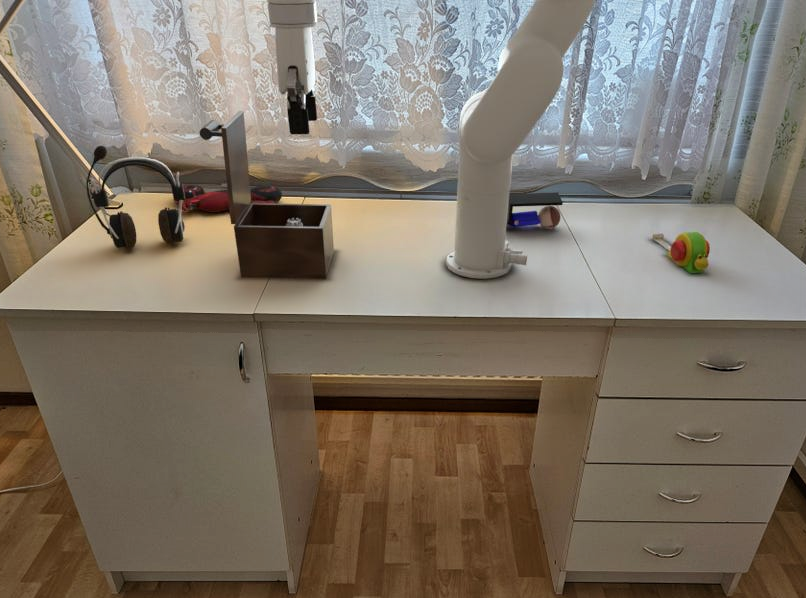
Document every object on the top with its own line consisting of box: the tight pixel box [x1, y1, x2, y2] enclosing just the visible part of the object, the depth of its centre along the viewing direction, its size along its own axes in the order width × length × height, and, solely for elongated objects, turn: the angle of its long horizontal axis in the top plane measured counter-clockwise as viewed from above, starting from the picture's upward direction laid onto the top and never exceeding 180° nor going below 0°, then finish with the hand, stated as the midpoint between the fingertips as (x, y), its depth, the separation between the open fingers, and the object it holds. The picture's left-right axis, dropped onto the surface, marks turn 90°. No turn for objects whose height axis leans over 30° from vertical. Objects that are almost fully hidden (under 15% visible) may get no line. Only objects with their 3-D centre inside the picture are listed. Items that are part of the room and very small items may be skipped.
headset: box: [85, 145, 186, 251], centre depth 126 cm, size 17×8×20 cm, turn 110°
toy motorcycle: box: [175, 184, 283, 213], centre depth 150 cm, size 25×5×16 cm
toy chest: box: [233, 202, 335, 280], centre depth 124 cm, size 16×13×10 cm
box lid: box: [199, 110, 251, 225], centre depth 116 cm, size 16×13×5 cm
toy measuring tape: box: [651, 231, 711, 274], centre depth 131 cm, size 6×19×7 cm, turn 9°
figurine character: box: [506, 192, 563, 230], centre depth 143 cm, size 7×8×15 cm
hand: (304, 126), depth 114 cm, fingers open, 9 cm apart
